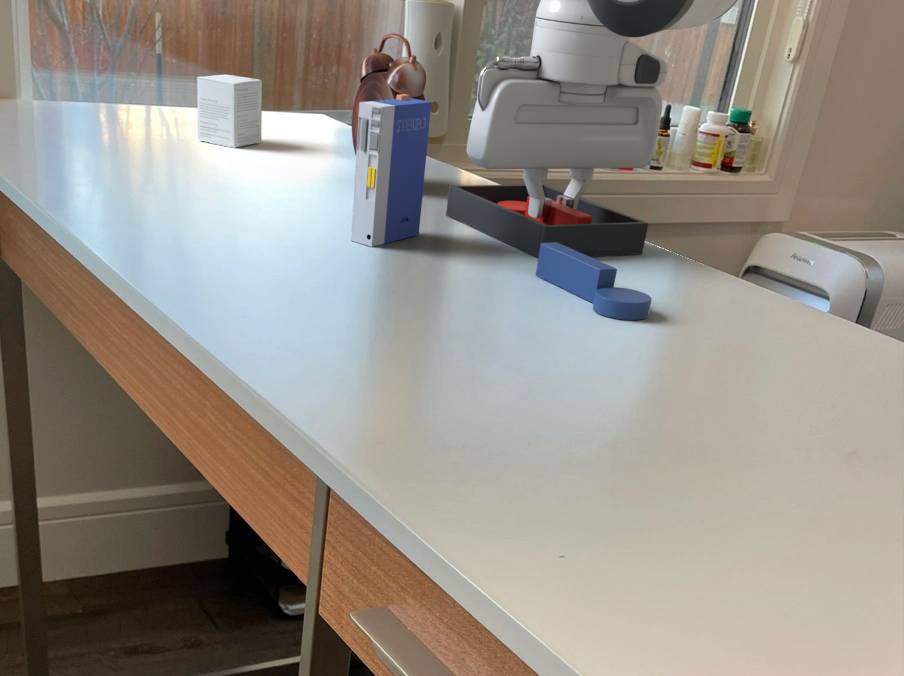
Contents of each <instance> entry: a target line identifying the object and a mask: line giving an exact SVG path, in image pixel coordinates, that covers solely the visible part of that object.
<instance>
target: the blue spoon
mask: <svg viewBox="0 0 904 676" xmlns="http://www.w3.org/2000/svg"><path fill="white" fill-rule="evenodd" d="M536 264H537V265H536V272H535V276H536V277H538V278H540V279H542V280H545V281H547V282H549V283H550V284H553V285H554V286H557V287H558V288H561V289H563V290H565V291H567V292H568V293H571V294H573V295H575V296H577V297H579V298H581V299H583V300H585V301H587V302H590V303H591V304H592V311H594V312H595V313H596V314H599V315H600V316H603V317H606V318H610V319H614V320H615V319H616V320H621V321H639V320H640V321H641V320H644V319H647V318H648V317H649V314H650V308H651V304H652V300H653V299H652V297H651V296H650V295H649V294H647V293H645V292H644V291H643V292H642V291H640V290H637V289H632V288H626V287H615V283H616V282H615V281H616V277H617V272H618V268H617V267H614V266H612V265H609V264H608V263H605V262H604V261H603V262H602V261H600V260H598V259H596V258H595V257H589V256H587V255H584V254H582V253H580V252H578V251H575V250H573V249H571V248H568V247H566V246H564V245H562V244H559V243H557V242H554V243H541V245H540V251H539V258H537V263H536Z"/></svg>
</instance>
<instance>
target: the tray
mask: <svg viewBox="0 0 904 676" xmlns="http://www.w3.org/2000/svg"><path fill="white" fill-rule="evenodd" d="M542 187H543V191H544V195H545V197H546V198H549V199H552V200H553V201H555V202H556V198H557V195H564V193H565V191H566V190H565V191H564V190H561V189H560V188H556V187H554V186H551V185H549V184H546V183H542ZM528 196H529V193H528V190H527V187H526V184H525V183H524V184H474V185H473V184H471V185H470V184H468V185H449V186H448V195H447V202H446V203H447V204H446V212H445V216H447V217H449V218H451V219H453V220H455V221H458V222H460V223H462V222H463V223H462V224H464V223H465V224H464V225H466V224H467V225H466V226H468V225H470V226H469V227H470V228H473V227H474V228H473V229H475V228H476V229H475V230H477V231H479V230H480V231H479V232H481V231H482V233H483V232H485V233H484V234H486V235H488V236H490V237H491V238H494V239H496V240H498V241H501V242H502V243H505V244H507V245H509V246H512V247H513V248H516V249H518V250H520V251H522V252H524V253H527V254H529V255H531V256H533V257H535V258H537V259H538V258H539V251H540V245H541V243H554V242H557V243H559V244H562V245H564V246H566V247H568V248H571V249H573V250H575V251H578V252H580V253H582V254H584V255H587V256H589V257H591V258H595V257H614V256H615V257H616V256H636V255H643V252H644V248H645V242H646V238H647V232H648V228H649V223H648V222H647V221H644V220H641V219H638V218H636V217H634V216H630V215H628V214H625V213H622V212H620V211H617V210H614V209H612V208H610V207H606V206H604V205H601V204H599V203H596V202H594V201H591V200H588V199H586V198H583V197H581V198H580V199H579V200H578V205H577V210H578V211H581V212H583V213H586V214H588V215H591V216H592V222H591V224H568V225H546V224H543V223H541V222H539V221H536V220H534V219H531V218H529V217H527V216H524V215H522V214H520V213H517V212H515V211H513V210H510V209H508V208H505V207H503V206H501V205H498V202H501V201H522V202H527V197H528Z"/></svg>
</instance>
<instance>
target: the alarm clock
mask: <svg viewBox="0 0 904 676" xmlns="http://www.w3.org/2000/svg"><path fill="white" fill-rule="evenodd" d="M392 38H394V39H397V40H399V41H400V42H401V43H403V45H404V46H405V50H406V56H402V57H399V58H397V59H394V58H393V57H392V56H391V55H389V54H388V53H384V52H383V49H384V46H385V44H386V41H387V40H389V39H392ZM371 53H372V54H370V55H368V56H367V57H365V58H364V59H363V61H362V62H361V64H360V67H359V83H360V84H359V86H358V88H357V91H356V93H355V97H354V101H353V106H352V112H351V136H352V145H353V150H354V154H355V155H354V156H356V150H357V134H358V118H359V103H360V102H369V101H379V100H390V99H396V97H397V95H401V94H406V95H409V98H412V99H417V100H423V101H427V100H426V96H425V94H424V92H425V88H426V83H427V72H426V70H425V68H424V66H423V65H422V64H421V62H419V60H417V56H416V54H412V49H411V44H410V42H409V41H408V39H407V38H406V37H404V36H402V34H398V33H388V34H386V35H383V36H382V37H381V40H380V42H379V45H378V48H376V47H374V48H373V49H372V51H371Z"/></svg>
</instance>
